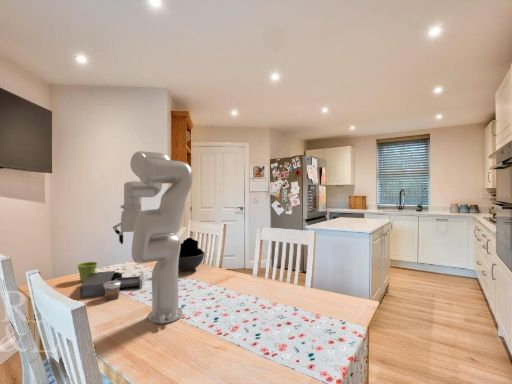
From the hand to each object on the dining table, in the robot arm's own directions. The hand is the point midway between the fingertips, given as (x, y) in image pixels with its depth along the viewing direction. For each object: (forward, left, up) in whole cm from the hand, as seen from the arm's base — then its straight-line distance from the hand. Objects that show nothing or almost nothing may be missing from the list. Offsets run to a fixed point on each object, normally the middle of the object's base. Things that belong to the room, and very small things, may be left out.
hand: (132, 242), depth 133 cm
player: (+7, +15, -23) cm, 28 cm away
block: (-7, +8, -23) cm, 25 cm away
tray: (+7, +3, -22) cm, 24 cm away
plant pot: (+23, +24, -23) cm, 41 cm away
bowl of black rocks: (+24, -28, -23) cm, 44 cm away
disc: (-7, +8, -18) cm, 21 cm away
